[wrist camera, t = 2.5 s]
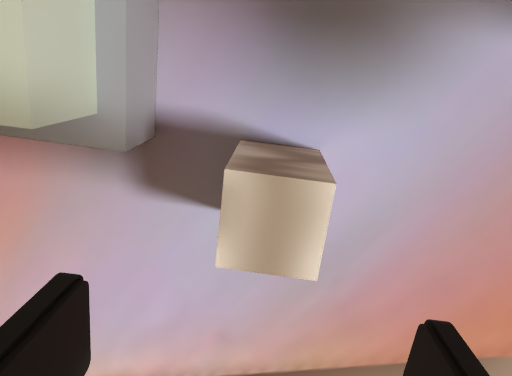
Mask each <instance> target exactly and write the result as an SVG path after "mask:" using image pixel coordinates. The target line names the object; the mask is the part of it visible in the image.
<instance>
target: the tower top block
mask: <svg viewBox="0 0 512 376" xmlns="http://www.w3.org/2000/svg"><path fill="white" fill-rule="evenodd" d="M93 114H97V80H96V39H95V0H0V125H3V126H11V127H19V128H26V129H35V128H39V127H43V126H47V125H52V124H56V123H60V122H64V121H68V120H73V119H77V118H81V117H85V116H89V115H93Z"/></svg>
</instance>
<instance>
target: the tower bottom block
mask: <svg viewBox="0 0 512 376" xmlns="http://www.w3.org/2000/svg"><path fill="white" fill-rule="evenodd" d="M158 23H159V0H95V39H96V80H97V114H93V115H89V116H85V117H81V118H77V119H73V120H68V121H64V122H60V123H56V124H52V125H47V126H43V127H39V128H35V129H26V128H19V127H11V126H3V125H0V135H3V136H10V137H17V138H25V139H32V140H40V141H47V142H54V143H62V144H69V145H76V146H84V147H91V148H99V149H106V150H113V151H121V152H127V151H129V150H130V149H132V148H134V147H136V146H138V145H140V144H142V143H144V142H145V141H147V140H149V139H151V138H153V137H155V116H156V85H157V54H158Z"/></svg>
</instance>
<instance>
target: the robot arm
mask: <svg viewBox="0 0 512 376" xmlns="http://www.w3.org/2000/svg"><path fill="white" fill-rule="evenodd" d="M90 359H91V350H90V312H89V284H88V282H87V281H84V280H83V277H82V276H81V275H77V274H69V273H58V274H57V275H55V276H54V277H53V278H52V279H51V280H50V281H49V282H48V283H47V284H46V285H45V286H44V287H43V288H42V289H40V290H39V291H38V292H37V293H36V294H35V295H34V296H33V297H32V298H31V299H30V300H29V301H28V302H26V303H25V304H24V305H23V306H22V307H21V308H20V309H19V310H18V311H17V312H16V313H15V314H14V315H13V316H11V317H10V318H9V319H8V320H7V321H6V322H5V323H4V324H3V325H2V326H1V327H0V376H84V375H85V373H86V372H87V370H88V367H89V364H90ZM403 376H489V374H488V373H487V371H486V370H485V369H484V367H483V366H482V365H481V363H480V362H479V360H478V359H477V358H476V356H475V355H474V354H473V352H472V351H471V349H470V348H469V347H468V345H467V344H466V343H465V341H464V340H463V338H462V337H461V336H460V334H459V333H458V332H457V330H456V329H455V327H454V326H453V325H452V324H451V323H450V322H445V321H437V320H426V321H425V323H424V324H420V325H419V326H418V329H417V332H416V335H415V338H414V341H413V345H412V348H411V351H410V354H409V358H408V361H407V364H406V367H405V370H404V374H403Z"/></svg>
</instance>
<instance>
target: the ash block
mask: <svg viewBox="0 0 512 376" xmlns="http://www.w3.org/2000/svg"><path fill="white" fill-rule="evenodd" d="M335 189H336V182H335V180H334V178H333V176H332V174H331V172H330V170H329V168H328V166H327V164H326V162H325V160H324V158H323V156H322V154H321V152H320V150H313V149H306V148H298V147H290V146H283V145H275V144H268V143H260V142H252V141H245V140H240V142H239V144H238V146H237V147H236V149H235V151H234V153H233V155H232V156H231V158H230V160H229V162H228V164H227V165H226V167H225V169H224V179H223V190H222V200H221V211H220V221H219V232H218V243H217V253H216V264H215V267H220V268H227V269H234V270H241V271H248V272H256V273H263V274H270V275H277V276H284V277H292V278H299V279H306V280H313V281H317V278H318V273H319V268H320V263H321V258H322V253H323V248H324V243H325V238H326V233H327V228H328V223H329V218H330V213H331V208H332V203H333V199H334V194H335Z"/></svg>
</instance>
